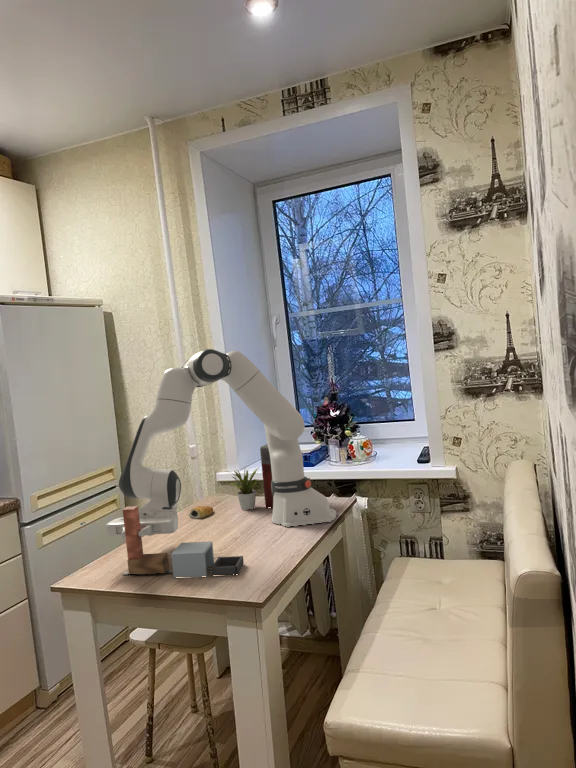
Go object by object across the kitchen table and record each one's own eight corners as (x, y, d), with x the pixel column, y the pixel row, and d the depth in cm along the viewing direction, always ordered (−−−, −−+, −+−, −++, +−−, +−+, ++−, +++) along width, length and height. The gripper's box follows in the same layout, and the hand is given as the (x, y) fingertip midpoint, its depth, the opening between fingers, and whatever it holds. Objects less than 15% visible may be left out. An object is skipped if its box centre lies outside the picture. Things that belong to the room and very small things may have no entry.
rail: (214, 569, 165) (214, 568, 165) (213, 571, 164) (213, 570, 164) (124, 573, 169) (124, 572, 168) (122, 575, 167) (122, 574, 167)
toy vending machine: (299, 501, 229) (292, 428, 228) (287, 509, 219) (280, 433, 217) (278, 500, 233) (271, 429, 231) (265, 508, 223) (258, 434, 221)
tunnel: (214, 564, 169) (212, 541, 168) (206, 577, 160) (203, 552, 160) (183, 566, 170) (181, 542, 170) (173, 578, 161) (171, 554, 161)
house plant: (223, 515, 219) (218, 471, 218) (228, 505, 232) (224, 464, 231) (261, 512, 218) (257, 468, 217) (265, 502, 232) (261, 460, 231)
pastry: (204, 511, 228) (203, 501, 228) (218, 513, 224) (217, 502, 224) (187, 518, 220) (186, 508, 220) (201, 520, 216) (200, 509, 216)
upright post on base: (169, 566, 168) (162, 503, 167) (163, 573, 164) (156, 508, 163) (134, 568, 170) (128, 505, 168) (128, 574, 165) (121, 510, 164)
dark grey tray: (243, 564, 167) (243, 556, 167) (237, 575, 159) (236, 566, 159) (219, 565, 168) (218, 557, 168) (212, 576, 160) (211, 567, 160)
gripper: (115, 511, 180) (95, 525, 167) (181, 507, 178) (165, 521, 164) (117, 531, 181) (97, 547, 167) (183, 528, 178) (168, 544, 164)
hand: (131, 534), depth 166 cm, fingers closed on upright post on base, 3 cm apart
